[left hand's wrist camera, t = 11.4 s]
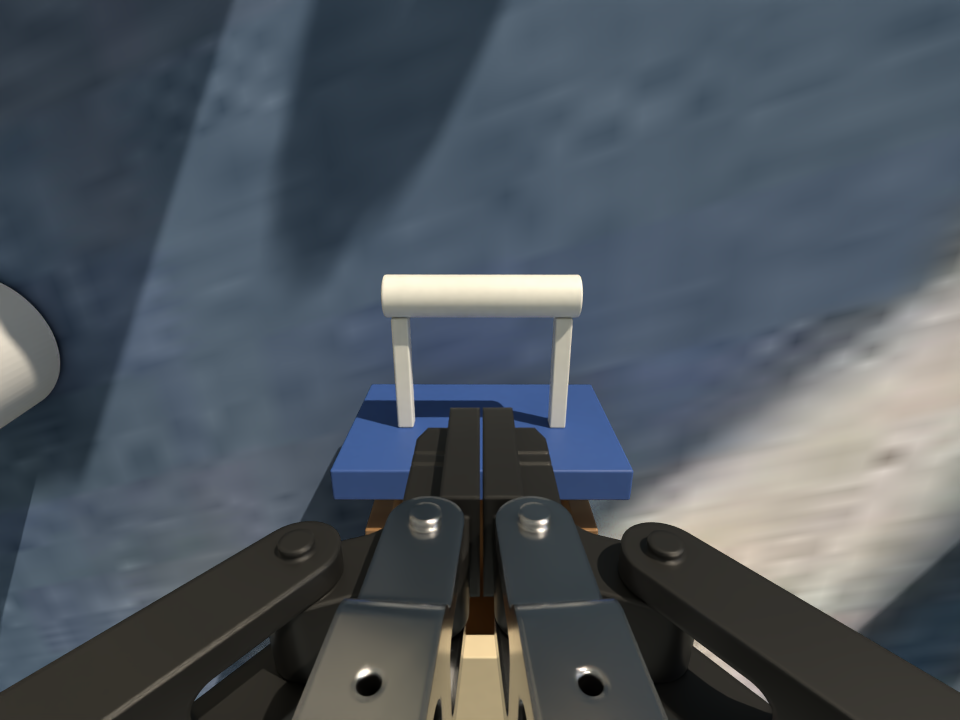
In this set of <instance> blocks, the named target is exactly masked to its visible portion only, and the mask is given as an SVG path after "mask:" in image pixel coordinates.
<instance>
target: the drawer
mask: <svg viewBox="0 0 960 720" xmlns="http://www.w3.org/2000/svg"><path fill="white" fill-rule="evenodd" d="M582 300H583V288H582V280H581V277H580V276H579V275H384V277H383V280H382V286H381V302H382V309H383V313H384V316H385V317H392V319H391V327H392V342H393V357H394V372H395V384H373V385H371V387H370V389H369V391H368V393H367V396H366V398H365V400H364V402H363V404H362V406H361V408H360V410H359V412H358V414H357V416H356V418H355V420H354V423H353V425H352V427H351V429H350V431H349V433H348V435H347V437H346V439H345V441H344V443H343V445H342V447H341V450H340V452H339V454H338V456H337V458H336V460H335V462H334V464H333V466H332V468H331V470H330V474H331V482H332V490H333V497H334V499H335V500H374V504H373V507H372V510H371V513H370V517H369V520H368V523H367V526H366V529H365V534H366V535H368V534H371V533H373V532H376V531H378V530H380V529H382V528H384V526H385V523H386V520H387V518H388V516H389V514H390V513H391V511H392V510H393V509H394V508H395V507H396V506H398V505H399V504H401V503H402V502H403V498H404V493H405V489H406V484H407V480H408V476H409V471H410V467H411V462H412V458H413V455H414V449H415V445H416V440H417V438H418V437H419V436H420V435H421V434H422V433H423V432H424V431H425V430H426V429H427V428H448V422H449V413H450V408H480V597H470V599H469V617H468V620H467V623H466V635H494V597H483V485H482V450H483V407H512V409H513V416H514V424H515V428H535V429H536V430H538V431H539V432H540V433H541V434H542V435H543V436H544V437H545V438H546V441H547V445H548V450H549V454H550V458H551V462H552V467H553V471H554V475H555V479H556V484H557V488H558V492H559V496H560V501H561V505H562V506H564V507H565V508H566V509H567V510H568V511H569V513H570V514H571V516H572V518H573V520H574V523H575V524H576V525H577V526H579V527H580V528H582V529H584V530H586V531H588V532H591V533H593V534H597V535H598V529H597V526H596V523H595V520H594V517H593V513H592V510H591V507H590V504H589V501H588V500H629V499H630V493H631V486H632V478H633V470H632V467H631V465H630V463H629V461H628V459H627V457H626V455H625V453H624V451H623V449H622V447H621V445H620V443H619V441H618V439H617V437H616V435H615V433H614V431H613V429H612V427H611V425H610V423H609V421H608V419H607V417H606V415H605V412H604V410H603V408H602V406H601V404H600V402H599V400H598V398H597V396H596V394H595V392H594V390H593V388H592V386H591V385H568V379H569V365H570V351H571V337H572V323H573V320H572V318H571V317H579V315H580V313H581V309H582ZM410 317H554V322H553V340H552V357H551V375H550V385H473V384H413V370H412V351H411V332H410Z"/></svg>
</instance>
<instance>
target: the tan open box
mask: <svg viewBox="0 0 960 720" xmlns="http://www.w3.org/2000/svg"><path fill="white" fill-rule="evenodd" d="M365 535H366V534H365ZM456 720H504V716H503V707H502V699H501V690H500V681H499V673H498V664H497V656H496V647H495V638H494V635H466V638H465V647H464V656H463V664H462V673H461V681H460V690H459V699H458V707H457V716H456Z"/></svg>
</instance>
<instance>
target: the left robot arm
mask: <svg viewBox="0 0 960 720" xmlns="http://www.w3.org/2000/svg"><path fill="white" fill-rule="evenodd" d="M482 485H483V597H494V638H495V647H496V656H497V664H498V673H499V681H500V690H501V699H502V707H503V716H504V720H960V692H958V691H956V690H955V689H953V688H951V687H949V686H948V685H946V684H944V683H943V682H941V681H939V680H938V679H936V678H934V677H932V676H931V675H929V674H927V673H926V672H924V671H922V670H921V669H919V668H917V667H915V666H914V665H912V664H910V663H909V662H907V661H905V660H904V659H902V658H900V657H898V656H897V655H895V654H893V653H892V652H890V651H888V650H887V649H885V648H883V647H881V646H880V645H878V644H876V643H875V642H873V641H871V640H870V639H868V638H866V637H864V636H863V635H861V634H859V633H858V632H856V631H854V630H853V629H851V628H849V627H847V626H846V625H844V624H842V623H841V622H839V621H837V620H836V619H834V618H832V617H830V616H829V615H827V614H825V613H824V612H822V611H820V610H819V609H817V608H815V607H813V606H812V605H810V604H808V603H807V602H805V601H803V600H802V599H800V598H798V597H796V596H795V595H793V594H791V593H790V592H788V591H786V590H785V589H783V588H781V587H779V586H778V585H776V584H774V583H773V582H771V581H769V580H768V579H766V578H764V577H762V576H761V575H759V574H757V573H756V572H754V571H752V570H751V569H749V568H747V567H745V566H744V565H742V564H740V563H739V562H737V561H735V560H734V559H732V558H730V557H729V556H727V555H725V554H723V553H722V552H720V551H718V550H717V549H715V548H713V547H712V546H710V545H708V544H706V543H705V542H703V541H701V540H700V539H698V538H696V537H695V536H693V535H691V534H689V533H688V532H686V531H684V530H682V529H680V528H677V527H675V526H671V525H668V524H663V523H655V522H647V523H640V524H637V525H634V526H632V527H630V528H629V529H628V530H626V531H625V533H624V534H623V536H622V539H621V540H617V539H613V538H609V537H604V536H600V535H597V534H593V533H591V532H588V531H586V530H584V529H582V528H580V527H579V526H577V525H576V524H575V523H574V520H573V518H572V516H571V514H570V513H569V511H568V510H567V509H566V508H565V507H564V506H562V505H561V501H560V496H559V492H558V488H557V484H556V479H555V475H554V471H553V467H552V462H551V458H550V454H549V450H548V445H547V441H546V438H545V437H544V436H543V435H542V434H541V433H540V432H539V431H538V430H536V429H535V428H515V424H514V416H513V409H512V407H483V450H482ZM470 597H480V408H450V413H449V422H448V428H427V429H426V430H425V431H424V432H423V433H422V434H421V435H420V436H419V437H418V438H417V440H416V445H415V449H414V455H413V458H412V462H411V467H410V471H409V476H408V480H407V484H406V489H405V493H404V498H403V502H402V503H401V504H399V505H398V506H396V507H395V508H394V509H393V510H392V511H391V513H390V514H389V516H388V518H387V520H386V523H385V526H384V528H382V529H380V530H378V531H376V532H373V533H371V534H368V535H364V536H360V537H356V538H352V539H347V540H343V541H341V539H340V536H339V533H338V532H337V530H336V529H334V528H333V527H332V526H330V525H328V524H325V523H322V522H316V521H305V522H298V523H293V524H290V525H287V526H284V527H282V528H280V529H278V530H276V531H274V532H272V533H271V534H269V535H267V536H265V537H264V538H262V539H260V540H259V541H257V542H255V543H254V544H252V545H250V546H249V547H247V548H245V549H243V550H242V551H240V552H238V553H237V554H235V555H233V556H232V557H230V558H228V559H226V560H225V561H223V562H221V563H220V564H218V565H216V566H215V567H213V568H211V569H209V570H208V571H206V572H204V573H203V574H201V575H199V576H198V577H196V578H194V579H192V580H191V581H189V582H187V583H186V584H184V585H182V586H181V587H179V588H177V589H175V590H174V591H172V592H170V593H169V594H167V595H165V596H164V597H162V598H160V599H158V600H157V601H155V602H153V603H152V604H150V605H148V606H147V607H145V608H143V609H141V610H140V611H138V612H136V613H135V614H133V615H131V616H130V617H128V618H126V619H124V620H123V621H121V622H119V623H118V624H116V625H114V626H113V627H111V628H109V629H107V630H106V631H104V632H102V633H101V634H99V635H97V636H96V637H94V638H92V639H90V640H89V641H87V642H85V643H84V644H82V645H80V646H79V647H77V648H75V649H73V650H72V651H70V652H68V653H67V654H65V655H63V656H62V657H60V658H58V659H56V660H55V661H53V662H51V663H50V664H48V665H46V666H45V667H43V668H41V669H40V670H38V671H36V672H34V673H33V674H31V675H29V676H28V677H26V678H24V679H23V680H21V681H19V682H17V683H16V684H14V685H12V686H11V687H9V688H7V689H6V690H4V691H2V692H0V720H456V716H457V707H458V699H459V690H460V681H461V673H462V664H463V656H464V647H465V638H466V623H467V620H468V617H469V599H470ZM268 637H269V638H270V644H269V645H268V646H266V647H265V648H264V649H263V650H261V651H260V652H259V653H257V654H256V655H255V656H253V657H252V658H251V659H249V660H248V661H247V662H245V663H244V664H243V665H242V666H240V667H239V668H238V669H236V670H235V671H234V672H232V673H231V674H230V675H228V676H227V677H226V678H224V679H223V680H222V681H221V682H219V683H218V684H217V685H215V686H214V687H213V688H211V689H210V690H209V691H207V692H206V693H205V694H203V695H202V696H201V697H199V698H198V699H197V700H196V701H194V700H195V698H196V697H197V695H198V694H199V692H200V691H201V690H202V689H203V687H204V686H205V685H206V684H207V683H208V682H210V681H211V680H212V679H213V678H215V677H216V676H217V675H219V674H220V673H221V672H223V671H224V670H225V669H227V668H228V667H229V666H231V665H232V664H233V663H235V662H236V661H237V660H239V659H240V658H241V657H243V656H244V655H245V654H247V653H248V652H249V651H251V650H252V649H253V648H255V647H256V646H257V645H259V644H260V643H261V642H263V641H264V640H265V639H267V638H268ZM694 639H695V640H696V641H697V642H699V643H700V644H701V645H703V646H704V647H705V648H707V649H708V650H709V651H711V652H712V653H713V654H715V655H716V656H717V657H719V658H720V659H721V660H723V661H724V662H725V663H727V664H728V665H729V666H731V667H732V668H733V669H735V670H736V671H737V672H739V673H740V674H741V675H743V676H744V677H745V678H747V679H748V680H749V681H751V682H752V683H753V684H754V685H755V686H756V687H757V688H758V689H759V690H760V691H761V692H762V693H763V695H764V696H765V697H766V699H767V701H768V703H769V704H768V703H767V702H766V701H764V700H763V699H762V698H761V697H759V696H758V695H757V694H755V693H754V692H753V691H751V690H750V689H749V688H747V687H746V686H745V685H743V684H742V683H741V682H740V681H738V680H737V679H736V678H734V677H733V676H732V675H730V674H729V673H728V672H726V671H725V670H724V669H722V668H721V667H720V666H718V665H717V664H716V663H715V662H713V661H712V660H711V659H709V658H708V657H707V656H705V655H704V654H703V653H701V652H700V651H699V650H697V649H696V648H695V647H694V646H693V642H694Z"/></svg>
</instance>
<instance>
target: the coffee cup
mask: <svg viewBox="0 0 960 720" xmlns="http://www.w3.org/2000/svg"><path fill="white" fill-rule="evenodd" d="M59 372H60V355H59V350H58V346H57V343H56V340H55V337H54V335H53V333H52V331H51V329H50V327H49V326H48V324H47V323H46V321H45V320H44V318H43V317H42V316H41V314H40V313H39V312H38V311H37V310H36V309H35V308H34V306H33V305H31V304H30V303H29V302H28V301H27V300H26V299H25V298H24V297H22V296H21V295H20V294H18V293H17V292H15V291H14V290H12V289H11V288H9V287H7V286H6V285H4V284H2V283H0V429H1V428H2V427H4V426H5V425H7V424H8V423H10V422H11V421H13V420H14V419H16V418H17V417H19V416H20V415H22V414H23V413H24V412H26V411H27V410H29V409H30V408H32V407H33V406H35V405H36V404H38V403H39V402H41V401H42V400H43V399H45V398H46V397H47V396H48V395H49V394H50V392H51V391H52V390H53V388H54V387H55V384H56V382H57V380H58V376H59Z"/></svg>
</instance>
